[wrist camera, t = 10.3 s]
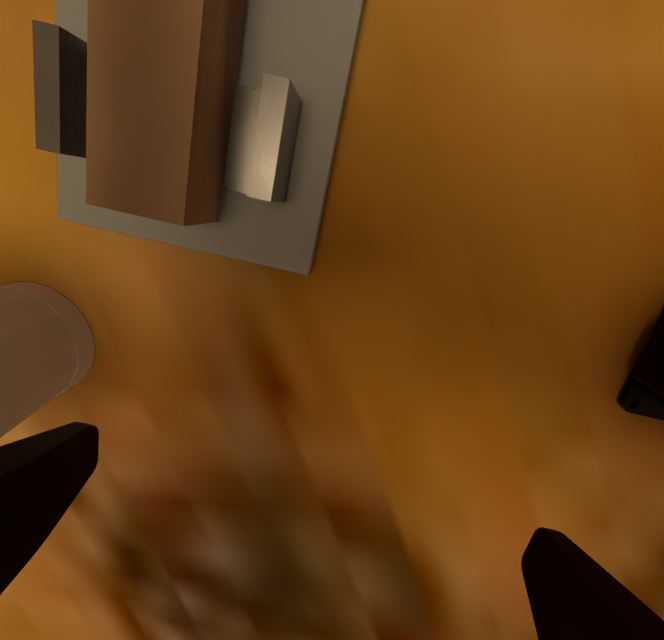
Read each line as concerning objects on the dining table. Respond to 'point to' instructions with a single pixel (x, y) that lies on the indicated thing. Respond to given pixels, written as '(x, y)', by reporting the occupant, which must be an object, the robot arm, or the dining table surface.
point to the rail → (160, 105)
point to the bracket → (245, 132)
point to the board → (311, 145)
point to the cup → (38, 349)
